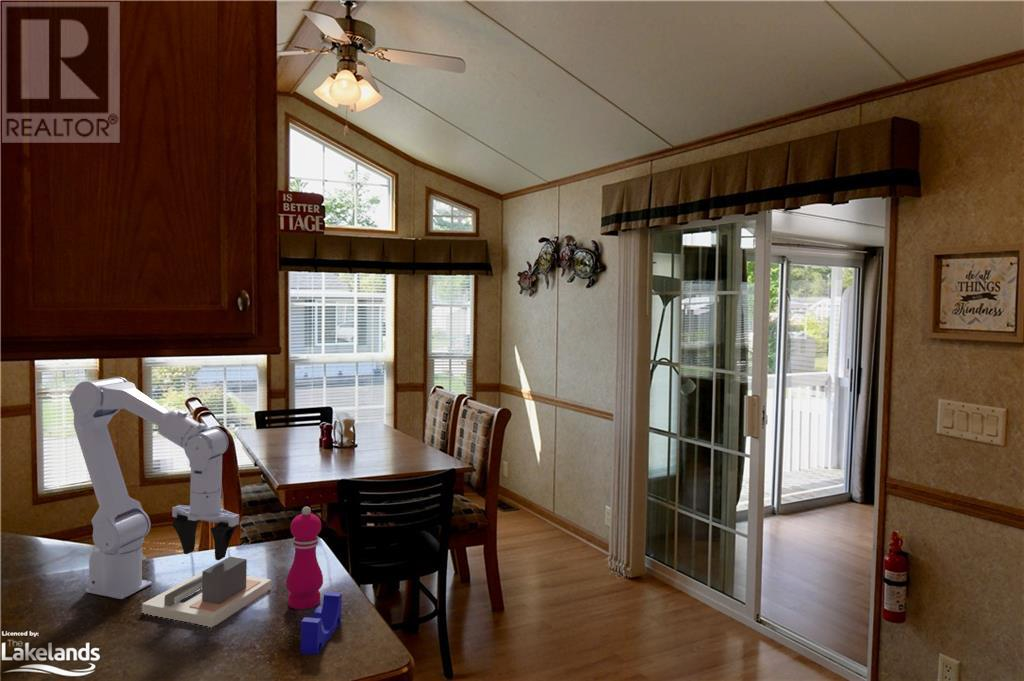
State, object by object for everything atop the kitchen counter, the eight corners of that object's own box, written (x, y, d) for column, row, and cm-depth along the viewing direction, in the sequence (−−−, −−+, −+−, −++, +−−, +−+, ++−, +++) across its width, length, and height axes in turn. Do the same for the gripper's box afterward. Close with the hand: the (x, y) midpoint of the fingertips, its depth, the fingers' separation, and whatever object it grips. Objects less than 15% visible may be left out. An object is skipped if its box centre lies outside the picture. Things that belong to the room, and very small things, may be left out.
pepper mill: (307, 591, 142) (309, 499, 141) (330, 601, 138) (332, 506, 136) (278, 603, 136) (280, 506, 135) (300, 614, 132) (302, 515, 131)
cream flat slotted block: (142, 613, 129) (142, 592, 129) (207, 577, 147) (208, 558, 146) (211, 628, 125) (211, 606, 125) (271, 588, 142) (271, 569, 142)
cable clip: (318, 621, 130) (319, 590, 130) (341, 622, 130) (341, 592, 129) (292, 653, 118) (293, 620, 118) (317, 655, 118) (317, 622, 117)
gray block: (202, 601, 131) (202, 571, 131) (229, 584, 139) (230, 556, 138) (219, 604, 130) (219, 574, 130) (246, 587, 138) (246, 559, 137)
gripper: (161, 490, 133) (159, 556, 134) (222, 499, 129) (221, 568, 130) (187, 481, 140) (186, 544, 141) (246, 490, 136) (244, 555, 137)
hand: (204, 555), depth 136 cm, fingers open, 7 cm apart
